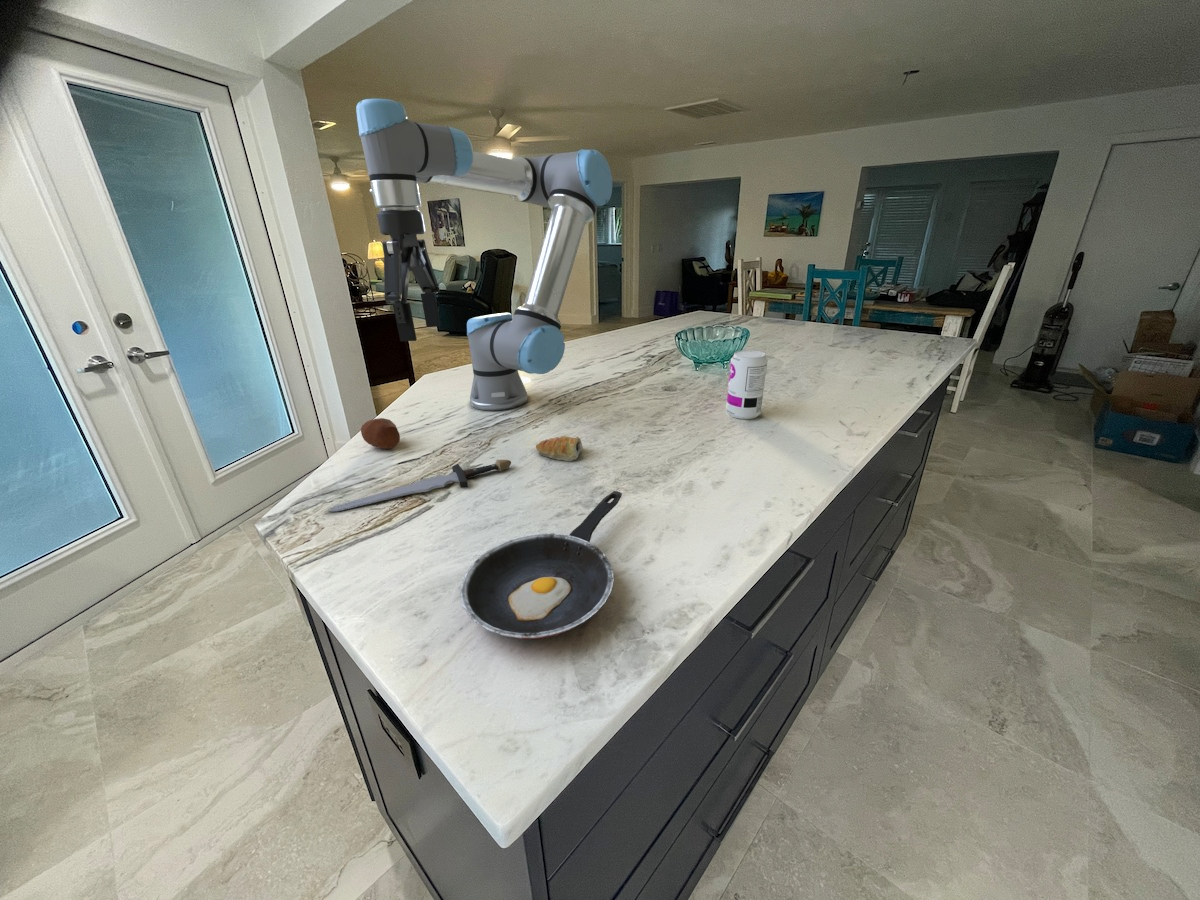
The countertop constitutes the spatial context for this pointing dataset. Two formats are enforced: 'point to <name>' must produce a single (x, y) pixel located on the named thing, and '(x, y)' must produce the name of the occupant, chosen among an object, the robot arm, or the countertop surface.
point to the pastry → (560, 448)
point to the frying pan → (540, 581)
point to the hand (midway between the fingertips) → (422, 333)
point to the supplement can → (746, 384)
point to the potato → (380, 433)
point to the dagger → (427, 484)
